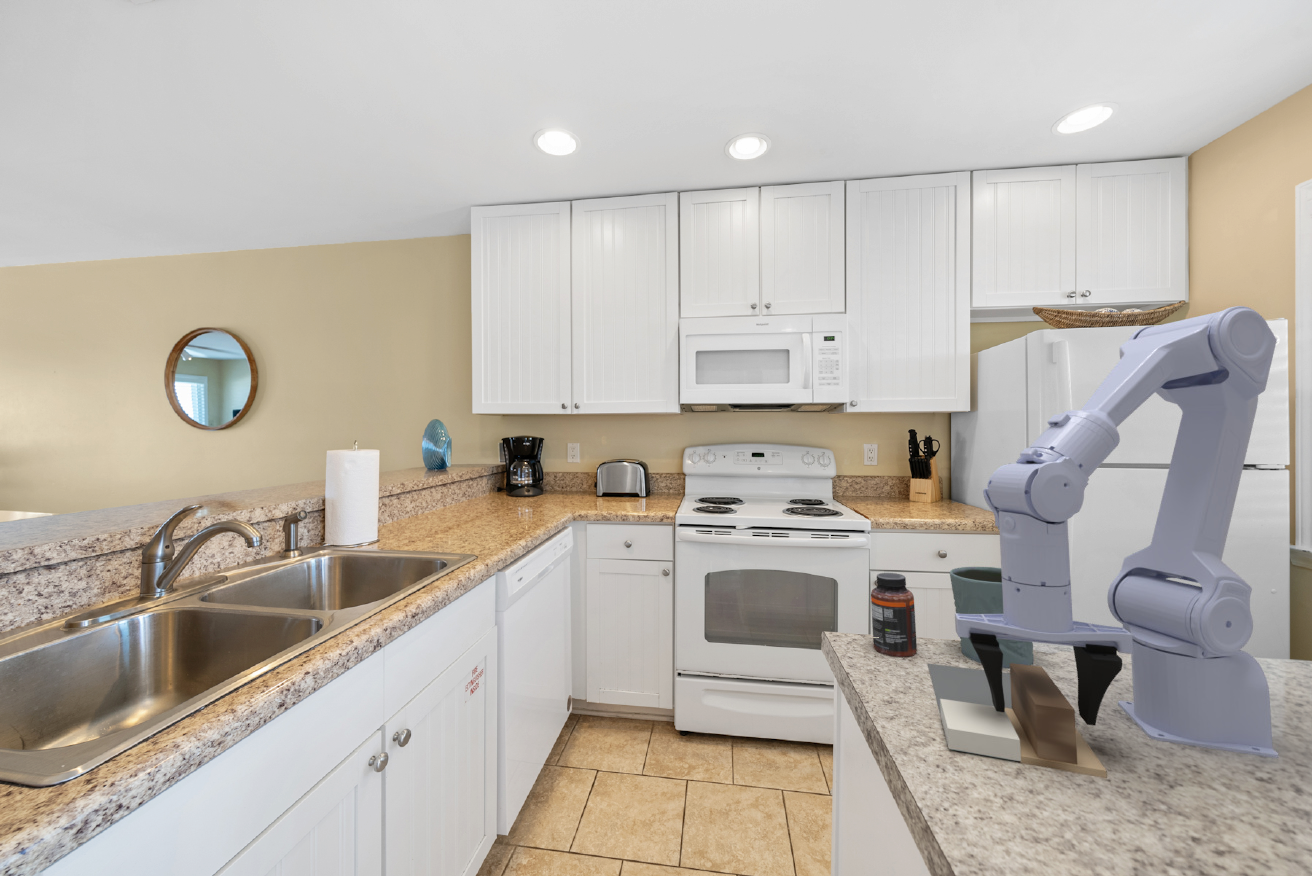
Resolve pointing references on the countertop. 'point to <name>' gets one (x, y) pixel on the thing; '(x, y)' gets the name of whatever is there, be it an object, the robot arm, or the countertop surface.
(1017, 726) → the trivet
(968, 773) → the countertop surface
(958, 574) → the teal textured planter
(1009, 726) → the tile
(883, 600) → the supplement bottle
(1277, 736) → the countertop surface
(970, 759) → the countertop surface
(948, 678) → the mat
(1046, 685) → the brown rectangular block
